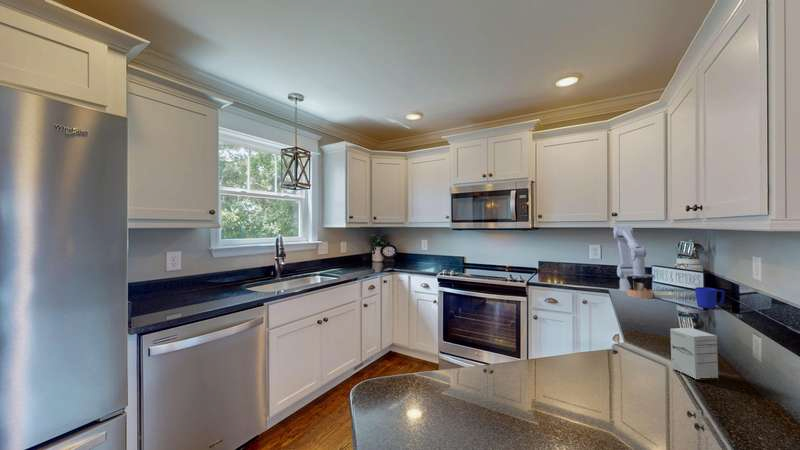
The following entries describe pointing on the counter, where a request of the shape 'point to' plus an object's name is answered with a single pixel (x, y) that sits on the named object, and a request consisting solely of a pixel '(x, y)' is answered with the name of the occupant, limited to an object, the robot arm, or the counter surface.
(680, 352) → the supplement box
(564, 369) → the counter surface
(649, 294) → the orange peg base
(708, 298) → the mug
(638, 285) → the peg
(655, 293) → the tray
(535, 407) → the counter surface
